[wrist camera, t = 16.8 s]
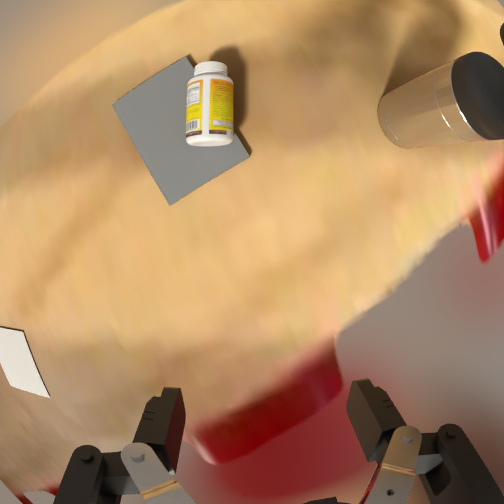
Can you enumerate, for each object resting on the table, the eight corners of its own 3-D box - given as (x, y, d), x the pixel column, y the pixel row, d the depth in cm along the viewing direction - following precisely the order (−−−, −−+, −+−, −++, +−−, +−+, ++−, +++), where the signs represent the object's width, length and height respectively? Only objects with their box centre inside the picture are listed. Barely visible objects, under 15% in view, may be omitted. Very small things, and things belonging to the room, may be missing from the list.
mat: (187, 59, 33) (185, 56, 32) (249, 157, 36) (249, 156, 35) (114, 106, 34) (111, 104, 33) (171, 204, 37) (169, 205, 36)
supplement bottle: (236, 146, 35) (237, 72, 32) (227, 140, 29) (229, 56, 27) (193, 148, 35) (195, 76, 33) (178, 143, 30) (182, 61, 27)
